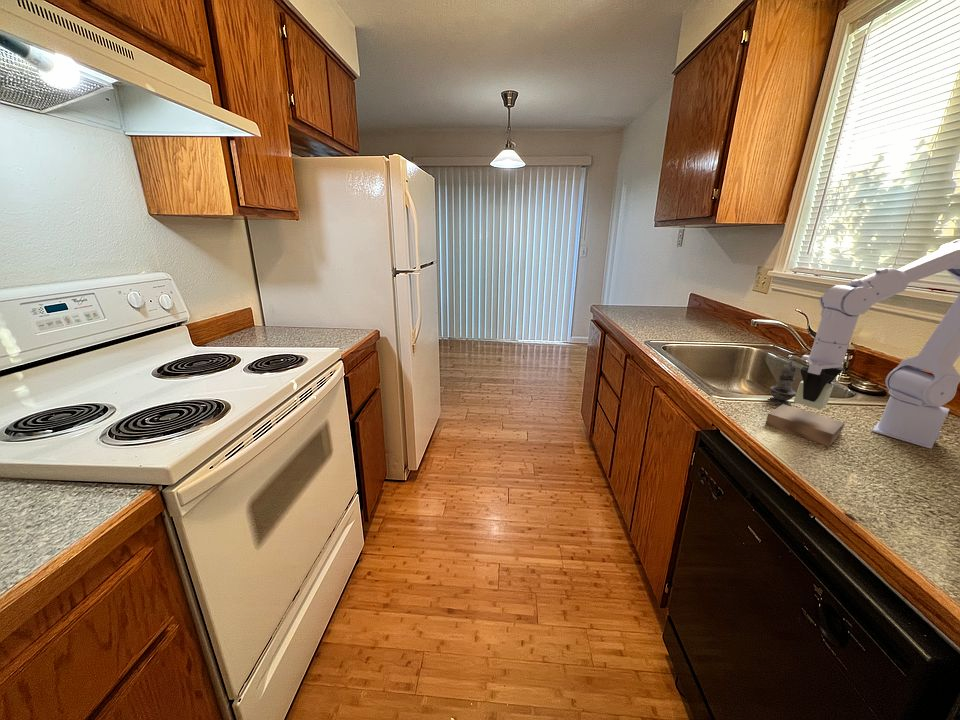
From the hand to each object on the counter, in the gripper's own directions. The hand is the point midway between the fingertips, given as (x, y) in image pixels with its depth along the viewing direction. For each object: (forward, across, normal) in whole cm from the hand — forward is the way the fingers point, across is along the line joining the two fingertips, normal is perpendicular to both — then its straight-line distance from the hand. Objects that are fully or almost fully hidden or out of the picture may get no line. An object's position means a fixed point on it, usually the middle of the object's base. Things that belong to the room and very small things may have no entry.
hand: (812, 397), depth 88 cm
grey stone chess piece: (+8, -15, -9) cm, 19 cm away
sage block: (+2, 0, 0) cm, 2 cm away
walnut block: (+8, 0, 0) cm, 8 cm away
